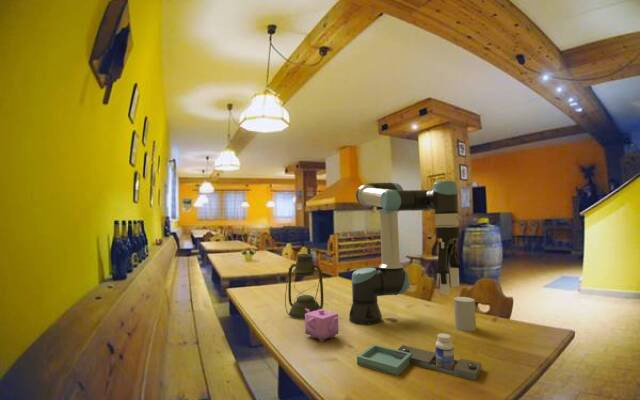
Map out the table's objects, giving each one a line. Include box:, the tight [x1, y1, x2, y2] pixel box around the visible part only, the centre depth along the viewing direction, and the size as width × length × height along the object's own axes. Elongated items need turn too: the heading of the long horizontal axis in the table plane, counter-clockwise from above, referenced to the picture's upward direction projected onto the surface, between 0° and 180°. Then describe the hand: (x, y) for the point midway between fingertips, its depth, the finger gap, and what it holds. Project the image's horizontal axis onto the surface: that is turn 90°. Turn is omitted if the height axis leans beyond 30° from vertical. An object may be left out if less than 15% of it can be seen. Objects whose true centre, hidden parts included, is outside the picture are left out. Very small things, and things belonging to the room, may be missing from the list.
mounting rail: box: [393, 344, 482, 382], centre depth 103 cm, size 26×8×3 cm, turn 53°
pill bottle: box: [434, 333, 455, 370], centre depth 101 cm, size 5×5×10 cm
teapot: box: [304, 308, 340, 343], centre depth 129 cm, size 15×13×11 cm
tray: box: [356, 344, 412, 377], centre depth 105 cm, size 14×12×2 cm
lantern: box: [284, 253, 324, 320], centre depth 162 cm, size 21×18×30 cm
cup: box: [453, 296, 477, 332], centre depth 136 cm, size 8×8×12 cm
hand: (450, 290), depth 106 cm, fingers open, 13 cm apart
